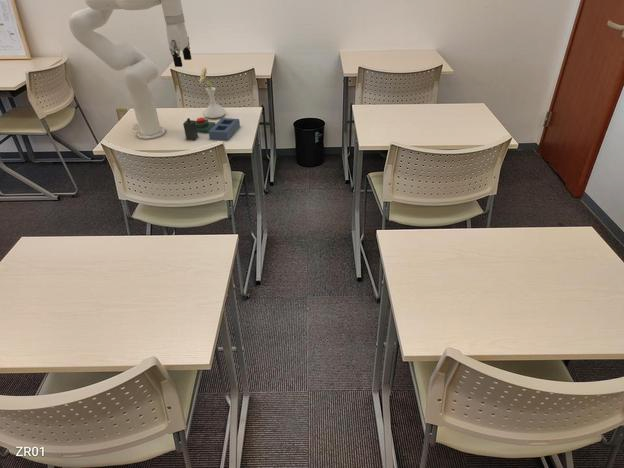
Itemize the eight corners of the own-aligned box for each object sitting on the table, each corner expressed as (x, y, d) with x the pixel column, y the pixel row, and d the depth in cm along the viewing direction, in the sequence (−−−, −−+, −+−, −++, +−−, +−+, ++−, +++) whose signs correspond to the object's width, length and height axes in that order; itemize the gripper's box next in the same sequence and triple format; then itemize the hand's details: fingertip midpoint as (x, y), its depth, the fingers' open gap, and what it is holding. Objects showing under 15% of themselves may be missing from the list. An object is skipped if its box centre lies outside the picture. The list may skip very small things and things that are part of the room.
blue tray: (209, 139, 219) (208, 131, 217) (223, 125, 231) (221, 117, 229) (227, 140, 217) (226, 132, 215) (240, 126, 229) (239, 118, 227)
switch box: (188, 132, 227) (187, 125, 225) (196, 124, 234) (195, 117, 232) (208, 133, 225) (206, 126, 223) (215, 125, 232) (214, 118, 230)
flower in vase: (206, 111, 247) (197, 62, 232) (228, 111, 246) (220, 61, 231) (200, 122, 236) (190, 70, 221) (223, 121, 235) (215, 70, 221)
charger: (186, 140, 220) (182, 120, 214) (190, 136, 223) (186, 116, 217) (194, 140, 219) (190, 120, 213) (198, 136, 222) (194, 117, 216)
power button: (196, 123, 226) (195, 120, 225) (199, 120, 229) (198, 117, 228) (203, 124, 226) (202, 120, 225) (206, 121, 228) (205, 117, 227)
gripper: (174, 14, 199) (183, 57, 209) (156, 24, 186) (166, 69, 196) (191, 14, 198) (199, 57, 208) (174, 24, 184) (183, 69, 194)
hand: (183, 63), depth 202 cm, fingers open, 9 cm apart
